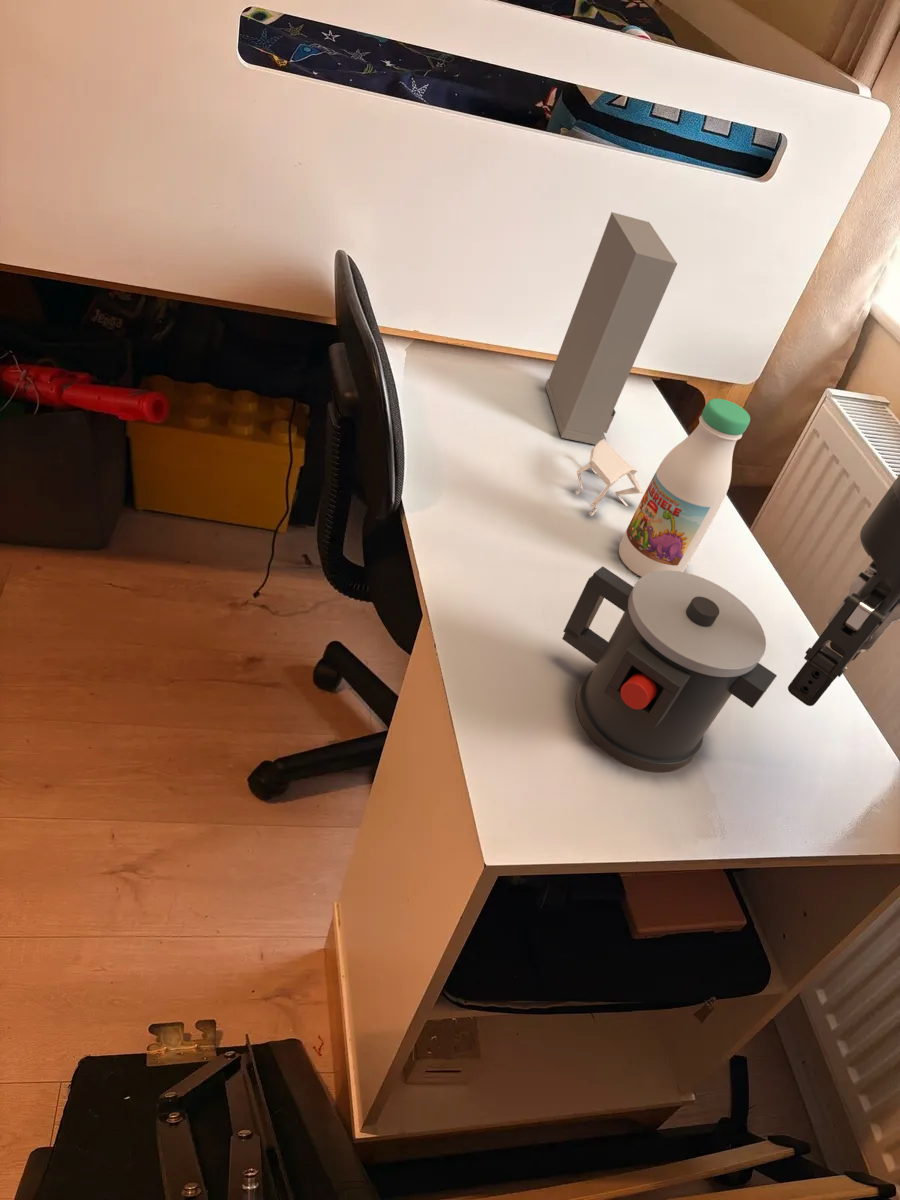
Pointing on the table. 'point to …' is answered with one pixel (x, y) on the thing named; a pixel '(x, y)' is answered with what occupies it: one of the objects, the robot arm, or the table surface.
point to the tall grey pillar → (608, 327)
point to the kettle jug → (664, 664)
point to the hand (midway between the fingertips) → (821, 674)
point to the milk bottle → (685, 493)
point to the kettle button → (638, 691)
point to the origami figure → (609, 471)
